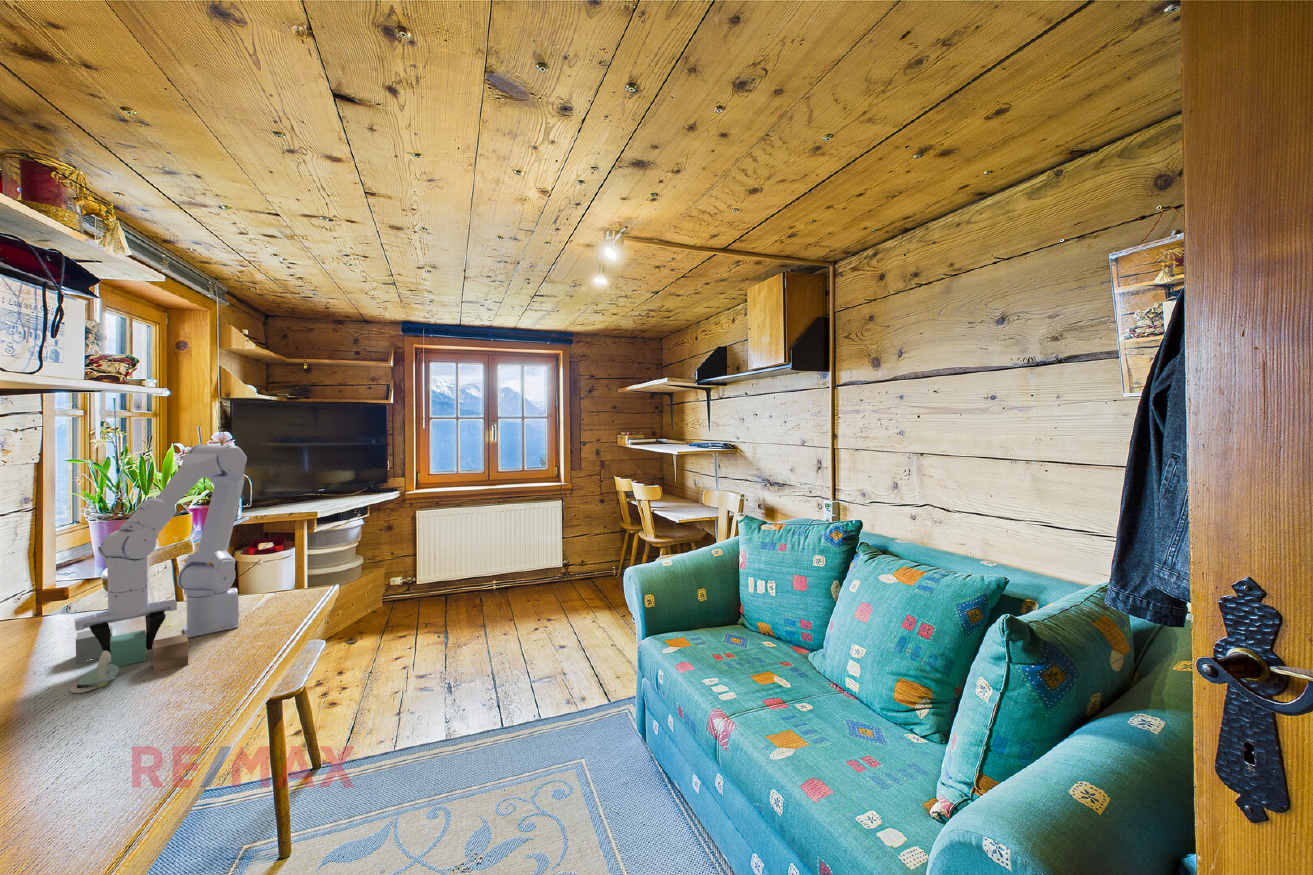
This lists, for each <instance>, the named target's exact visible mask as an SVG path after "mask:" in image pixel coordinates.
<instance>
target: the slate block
mask: <svg viewBox="0 0 1313 875" xmlns="http://www.w3.org/2000/svg"><path fill="white" fill-rule="evenodd" d="M109 628H110V650H111V636H113V626H112V625H111V626H110V625H109ZM102 653H103V649H102V647H101V645H100V643H99V641H98V640H97V638H96V637H95V636H94V634H93V633H92V632H91V630H90V629H89V630H84V631H83V630H82V631H77V633H76V638H75V664H76V663H77V664H81V663H85V662H84V661H86V662H88V661H87V660H90V659H96V660H98V659H97V658H100V656H101V654H102Z"/></svg>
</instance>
